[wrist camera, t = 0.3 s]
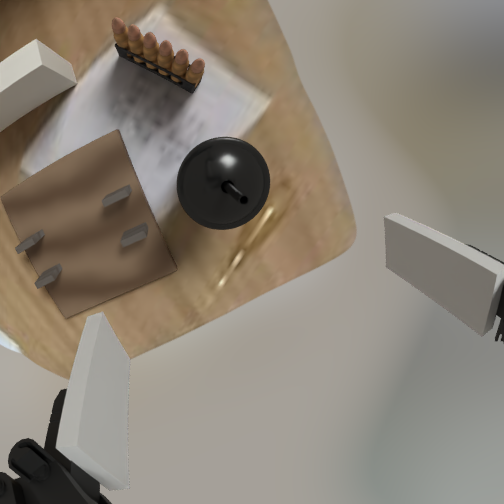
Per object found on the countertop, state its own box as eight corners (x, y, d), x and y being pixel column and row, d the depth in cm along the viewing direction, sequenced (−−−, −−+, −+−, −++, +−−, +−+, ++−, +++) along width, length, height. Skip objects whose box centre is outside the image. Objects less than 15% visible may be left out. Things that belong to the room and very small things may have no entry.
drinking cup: (184, 129, 34) (202, 120, 16) (243, 147, 37) (318, 161, 19) (165, 189, 36) (166, 244, 18) (224, 204, 39) (278, 269, 21)
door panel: (-24, 127, 25) (-76, 131, 14) (71, 64, 27) (36, 38, 16) (-18, 146, 26) (-70, 155, 16) (77, 83, 28) (42, 64, 18)
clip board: (5, 194, 30) (-13, 203, 25) (119, 129, 32) (111, 128, 27) (67, 312, 38) (59, 332, 33) (176, 265, 40) (178, 282, 36)
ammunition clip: (200, 81, 32) (216, 57, 22) (192, 93, 33) (204, 74, 22) (127, 43, 28) (113, 7, 17) (119, 55, 28) (100, 23, 18)
